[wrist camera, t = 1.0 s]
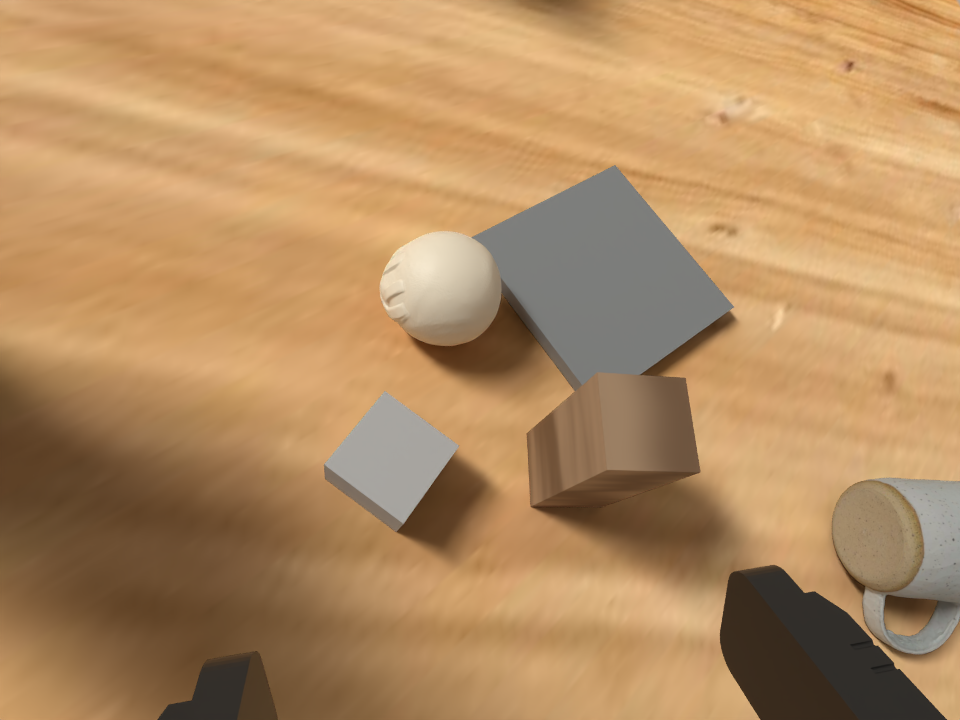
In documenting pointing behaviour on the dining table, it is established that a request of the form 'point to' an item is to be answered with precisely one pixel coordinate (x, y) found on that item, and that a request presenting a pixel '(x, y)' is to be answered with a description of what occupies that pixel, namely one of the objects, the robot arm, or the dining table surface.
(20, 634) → the dining table surface
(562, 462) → the walnut block
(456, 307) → the steamed bun
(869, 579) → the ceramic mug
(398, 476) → the grey block
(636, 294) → the plate
